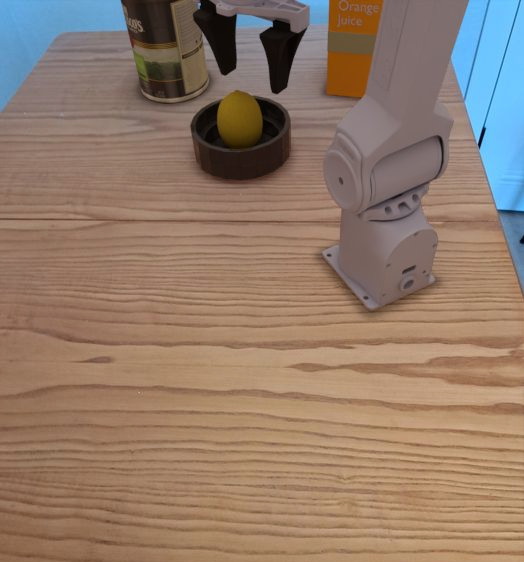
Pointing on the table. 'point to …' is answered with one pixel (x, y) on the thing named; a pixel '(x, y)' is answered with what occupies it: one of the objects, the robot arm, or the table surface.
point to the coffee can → (167, 48)
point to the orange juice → (351, 45)
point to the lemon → (239, 120)
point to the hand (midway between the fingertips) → (253, 80)
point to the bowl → (244, 161)
